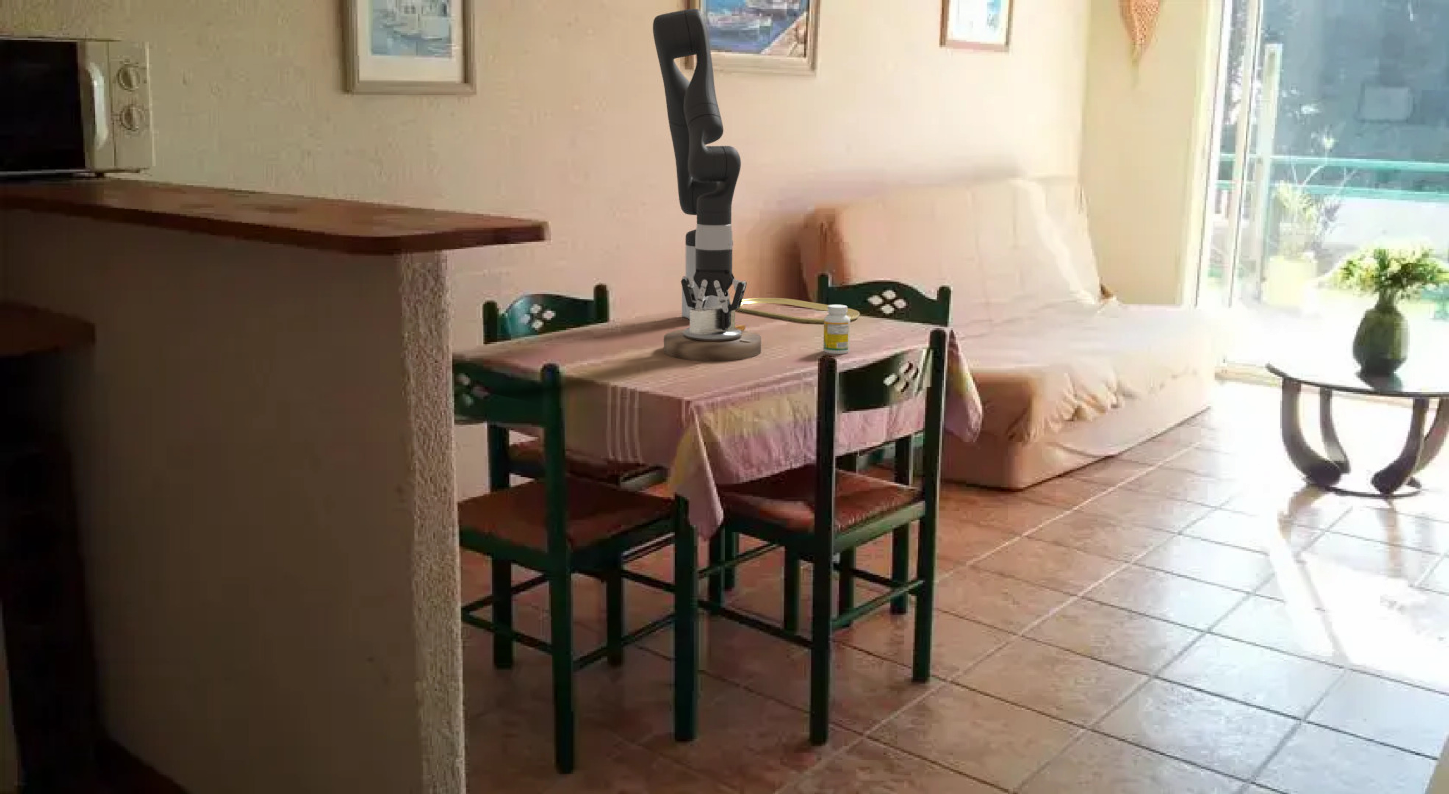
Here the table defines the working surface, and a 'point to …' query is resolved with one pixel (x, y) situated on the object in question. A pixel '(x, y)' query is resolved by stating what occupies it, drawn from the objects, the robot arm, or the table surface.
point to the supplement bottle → (836, 330)
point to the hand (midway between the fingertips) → (713, 328)
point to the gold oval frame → (791, 302)
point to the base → (712, 347)
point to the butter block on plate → (711, 325)
